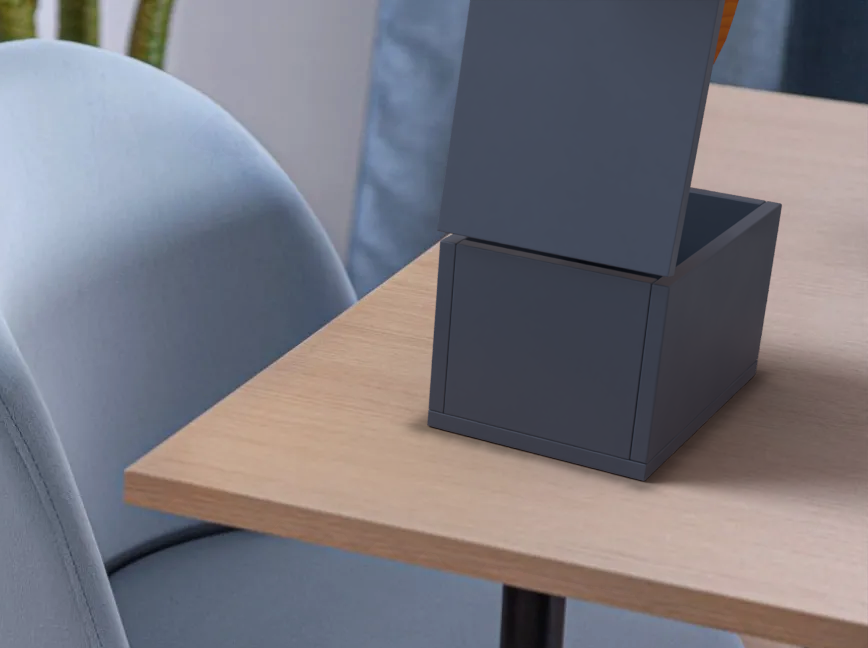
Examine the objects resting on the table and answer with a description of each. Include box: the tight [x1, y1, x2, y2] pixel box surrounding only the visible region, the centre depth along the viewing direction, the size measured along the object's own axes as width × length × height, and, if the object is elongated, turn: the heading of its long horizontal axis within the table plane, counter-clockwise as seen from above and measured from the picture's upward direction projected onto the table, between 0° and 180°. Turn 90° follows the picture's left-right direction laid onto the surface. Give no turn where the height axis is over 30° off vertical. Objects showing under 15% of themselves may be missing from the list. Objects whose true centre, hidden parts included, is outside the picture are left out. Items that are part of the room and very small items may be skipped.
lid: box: [436, 0, 725, 277], centre depth 70 cm, size 16×11×5 cm
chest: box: [426, 186, 783, 482], centre depth 83 cm, size 16×11×9 cm
